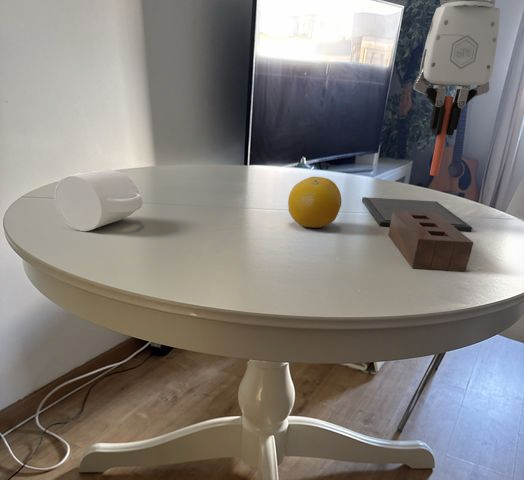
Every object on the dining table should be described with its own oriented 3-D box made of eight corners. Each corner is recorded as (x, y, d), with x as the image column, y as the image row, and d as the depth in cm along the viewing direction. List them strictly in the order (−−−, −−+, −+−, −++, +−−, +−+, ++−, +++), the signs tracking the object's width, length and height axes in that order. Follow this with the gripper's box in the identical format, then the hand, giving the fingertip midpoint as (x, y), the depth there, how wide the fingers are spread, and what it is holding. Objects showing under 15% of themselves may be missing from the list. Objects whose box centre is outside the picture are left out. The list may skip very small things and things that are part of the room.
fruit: (287, 231, 78) (291, 180, 74) (285, 219, 85) (289, 172, 81) (341, 234, 78) (348, 183, 74) (335, 222, 85) (340, 174, 81)
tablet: (436, 205, 103) (436, 201, 103) (471, 231, 84) (472, 226, 83) (361, 200, 103) (362, 196, 103) (379, 226, 84) (380, 221, 83)
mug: (54, 227, 73) (45, 172, 69) (90, 214, 81) (84, 164, 77) (124, 237, 70) (118, 180, 66) (154, 223, 78) (151, 171, 74)
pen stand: (431, 237, 79) (437, 213, 77) (465, 271, 64) (473, 242, 62) (388, 235, 79) (392, 210, 77) (412, 268, 64) (418, 239, 62)
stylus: (436, 174, 83) (452, 96, 77) (439, 176, 82) (455, 96, 76) (428, 174, 83) (443, 96, 77) (430, 175, 82) (446, 96, 76)
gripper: (422, -9, 67) (399, 134, 76) (533, -5, 67) (498, 138, 76) (409, 0, 74) (390, 130, 83) (511, 3, 74) (480, 134, 82)
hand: (442, 133), depth 79 cm, fingers closed on stylus, 1 cm apart
